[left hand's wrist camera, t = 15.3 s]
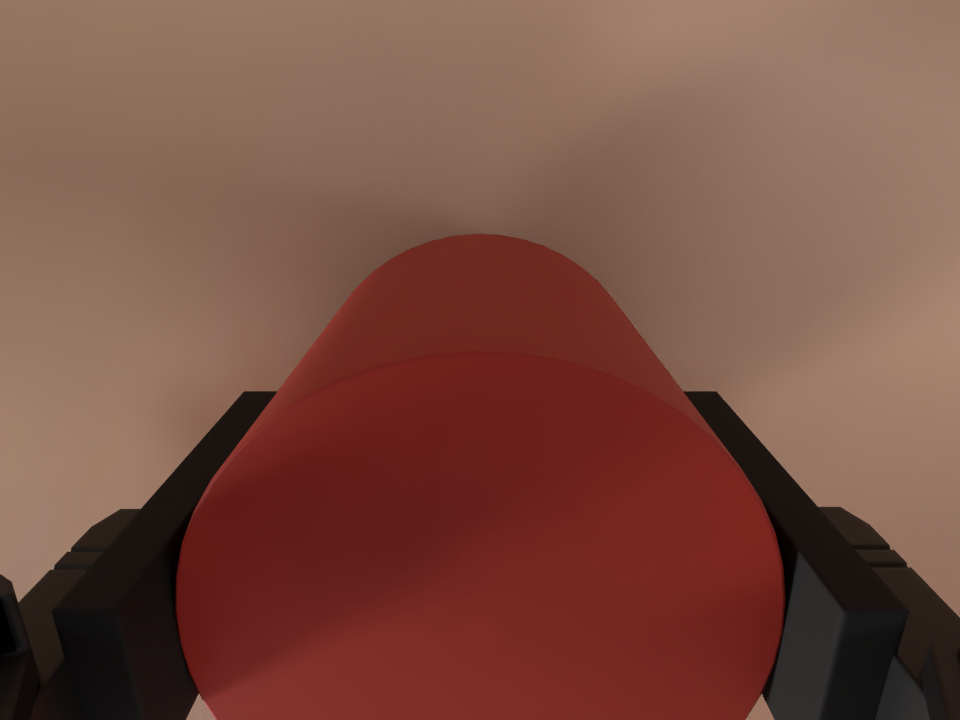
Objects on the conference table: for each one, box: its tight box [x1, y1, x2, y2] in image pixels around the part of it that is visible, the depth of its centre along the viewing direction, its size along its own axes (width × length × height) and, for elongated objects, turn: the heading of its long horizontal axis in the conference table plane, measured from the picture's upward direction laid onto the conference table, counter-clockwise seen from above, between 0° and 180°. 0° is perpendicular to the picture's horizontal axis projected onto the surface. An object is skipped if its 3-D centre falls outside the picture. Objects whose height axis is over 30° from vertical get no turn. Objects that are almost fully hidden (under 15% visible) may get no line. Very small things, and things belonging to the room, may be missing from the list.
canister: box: [175, 234, 786, 720], centre depth 13 cm, size 8×8×9 cm
